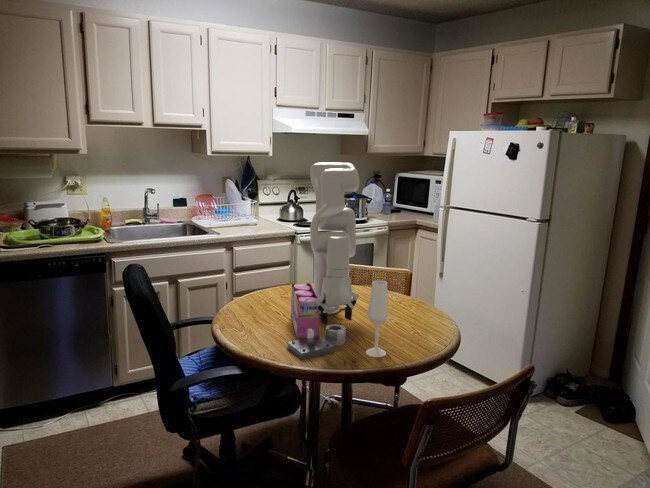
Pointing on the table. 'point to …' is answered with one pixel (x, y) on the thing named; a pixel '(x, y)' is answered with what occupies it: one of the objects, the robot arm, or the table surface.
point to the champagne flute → (378, 313)
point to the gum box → (304, 310)
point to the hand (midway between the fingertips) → (336, 321)
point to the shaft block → (310, 346)
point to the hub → (335, 334)
